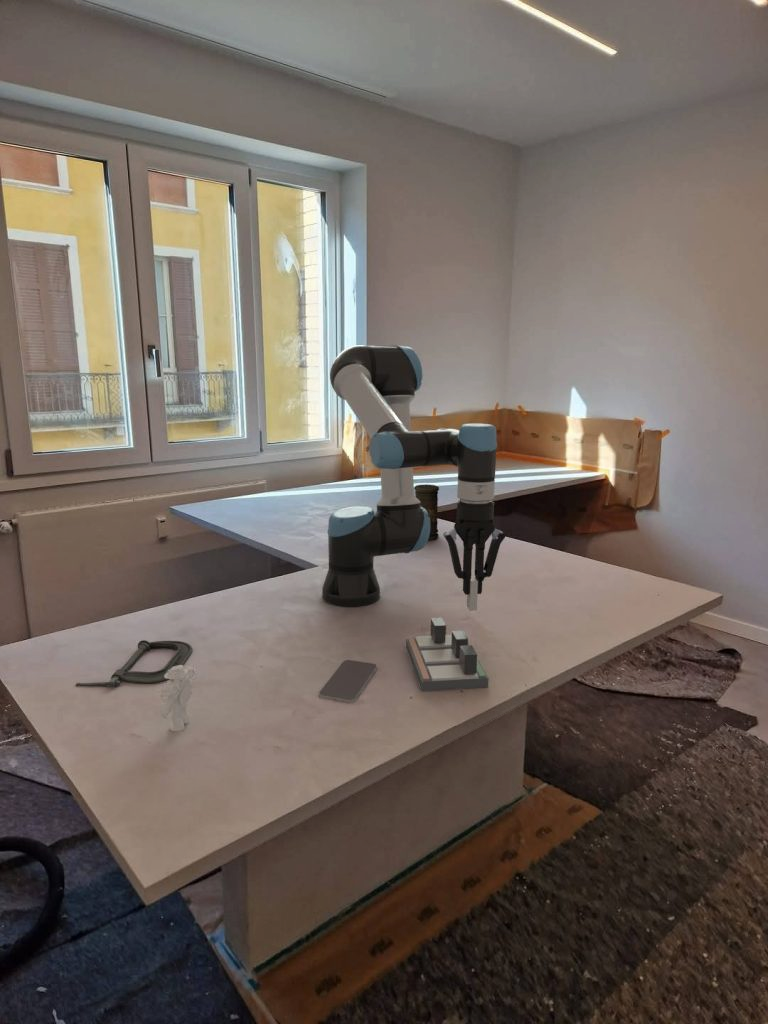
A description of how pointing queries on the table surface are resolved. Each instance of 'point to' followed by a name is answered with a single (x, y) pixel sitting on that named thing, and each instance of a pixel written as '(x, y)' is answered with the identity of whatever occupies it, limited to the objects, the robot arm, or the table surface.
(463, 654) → the block
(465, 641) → the block
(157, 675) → the c clamp
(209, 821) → the table surface
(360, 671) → the smartphone
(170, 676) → the hat wearing toy figure
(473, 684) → the panel
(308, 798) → the table surface
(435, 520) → the container
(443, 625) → the block
